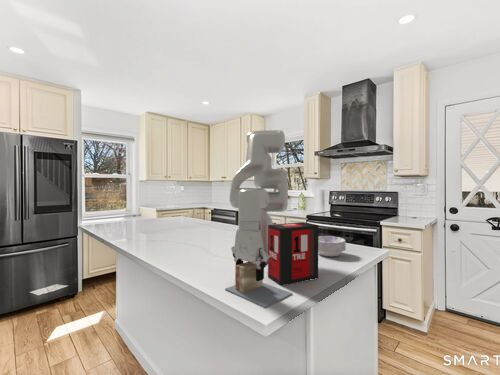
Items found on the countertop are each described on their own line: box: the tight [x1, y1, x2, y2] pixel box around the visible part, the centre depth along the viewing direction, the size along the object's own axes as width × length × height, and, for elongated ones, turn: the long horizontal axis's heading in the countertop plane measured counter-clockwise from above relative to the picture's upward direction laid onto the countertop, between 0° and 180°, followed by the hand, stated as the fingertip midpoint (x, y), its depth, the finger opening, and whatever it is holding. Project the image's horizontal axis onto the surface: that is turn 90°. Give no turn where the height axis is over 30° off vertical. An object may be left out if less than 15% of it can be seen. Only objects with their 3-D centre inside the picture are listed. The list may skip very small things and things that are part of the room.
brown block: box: [234, 261, 264, 293], centre depth 89 cm, size 4×9×8 cm, turn 135°
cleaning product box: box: [267, 221, 319, 287], centre depth 99 cm, size 16×9×20 cm, turn 115°
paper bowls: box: [318, 235, 347, 258], centre depth 132 cm, size 15×15×8 cm
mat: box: [224, 282, 293, 309], centre depth 86 cm, size 18×13×1 cm
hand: (249, 276), depth 89 cm, fingers open, 9 cm apart
